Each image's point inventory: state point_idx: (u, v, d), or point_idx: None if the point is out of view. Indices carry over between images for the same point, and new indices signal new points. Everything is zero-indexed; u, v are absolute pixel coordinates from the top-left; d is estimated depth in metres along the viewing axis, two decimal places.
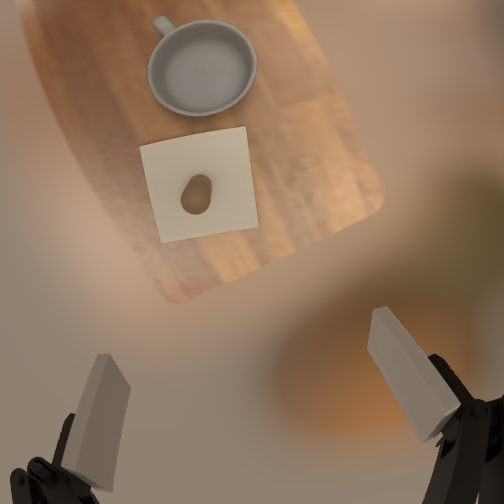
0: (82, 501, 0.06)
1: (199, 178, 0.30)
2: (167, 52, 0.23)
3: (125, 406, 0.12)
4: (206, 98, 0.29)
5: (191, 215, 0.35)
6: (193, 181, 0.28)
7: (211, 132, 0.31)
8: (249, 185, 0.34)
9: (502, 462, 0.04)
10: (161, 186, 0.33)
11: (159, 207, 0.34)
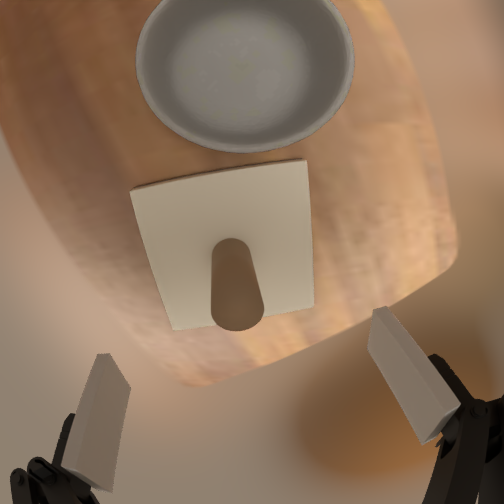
0: (82, 501, 0.06)
1: (235, 255, 0.18)
2: (174, 25, 0.12)
3: (125, 406, 0.12)
4: (241, 109, 0.18)
5: None
6: (228, 267, 0.17)
7: (251, 169, 0.19)
8: (307, 253, 0.22)
9: (502, 462, 0.04)
10: (169, 255, 0.21)
11: (168, 285, 0.22)
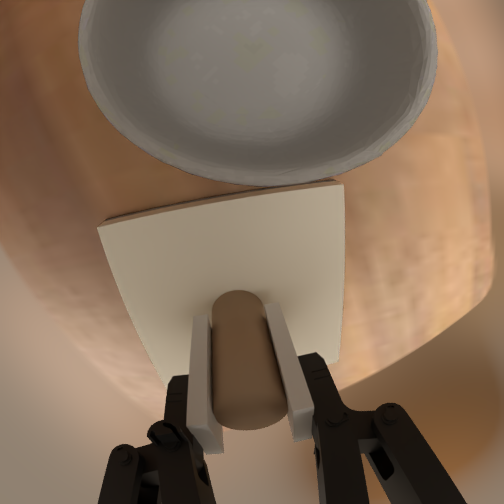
0: None
1: (246, 323, 0.13)
2: None
3: None
4: (253, 109, 0.12)
5: None
6: (236, 347, 0.11)
7: (266, 197, 0.13)
8: (336, 304, 0.17)
9: (401, 482, 0.05)
10: (155, 310, 0.15)
11: (156, 344, 0.16)
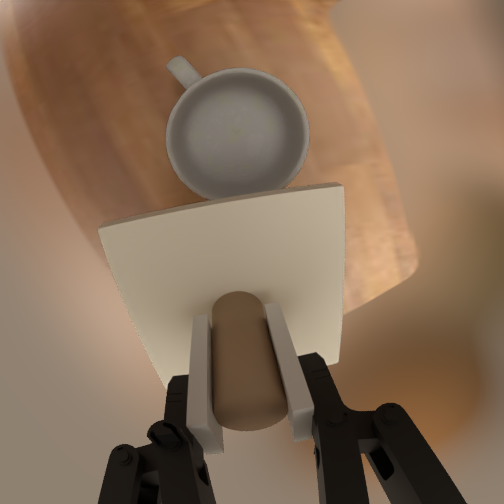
0: None
1: (246, 324, 0.13)
2: (188, 106, 0.21)
3: None
4: (236, 164, 0.26)
5: None
6: (237, 349, 0.11)
7: (267, 198, 0.13)
8: (336, 305, 0.17)
9: (401, 482, 0.05)
10: (156, 311, 0.15)
11: (157, 345, 0.16)
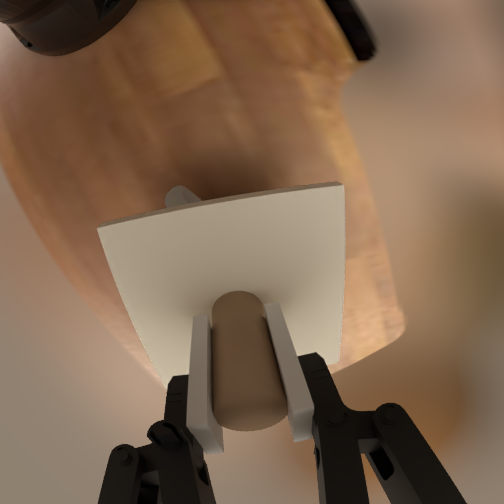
0: None
1: (246, 324, 0.13)
2: None
3: None
4: None
5: None
6: (237, 349, 0.11)
7: (267, 198, 0.13)
8: (336, 304, 0.17)
9: (401, 482, 0.05)
10: (155, 311, 0.15)
11: (157, 345, 0.16)
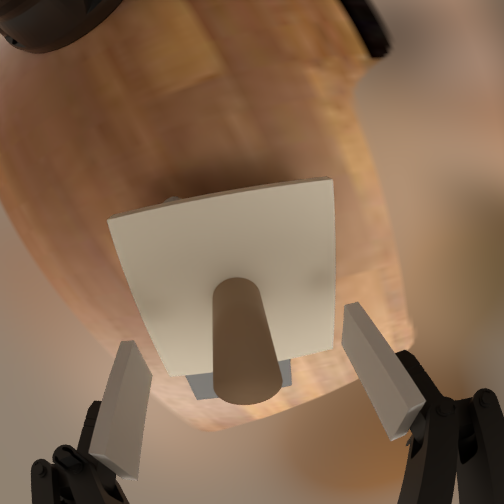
0: (107, 491, 0.06)
1: (243, 305, 0.14)
2: None
3: (147, 393, 0.12)
4: None
5: None
6: (235, 326, 0.13)
7: (262, 191, 0.15)
8: (328, 291, 0.18)
9: (479, 464, 0.04)
10: (160, 297, 0.17)
11: (161, 331, 0.18)
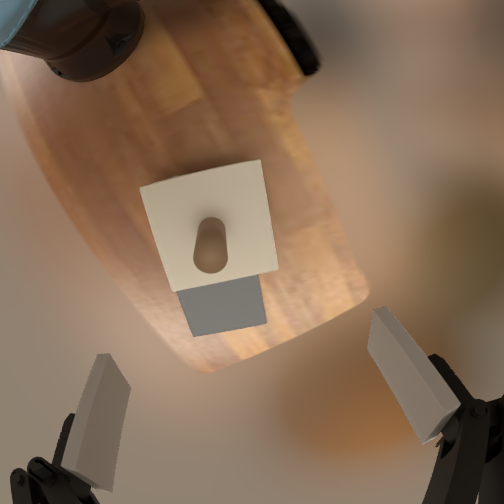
0: (82, 501, 0.06)
1: (211, 226, 0.27)
2: None
3: (125, 406, 0.12)
4: None
5: None
6: (205, 232, 0.25)
7: (221, 168, 0.28)
8: (267, 226, 0.31)
9: (502, 462, 0.04)
10: (168, 232, 0.30)
11: (167, 255, 0.31)
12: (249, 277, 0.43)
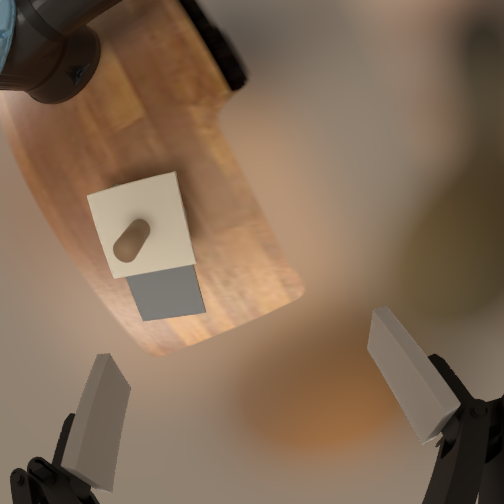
0: (82, 501, 0.06)
1: (133, 226, 0.32)
2: None
3: (125, 406, 0.12)
4: None
5: None
6: (126, 231, 0.31)
7: (144, 180, 0.33)
8: (183, 227, 0.36)
9: (502, 462, 0.04)
10: (108, 230, 0.35)
11: (108, 248, 0.36)
12: (186, 270, 0.48)
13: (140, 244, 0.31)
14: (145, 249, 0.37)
